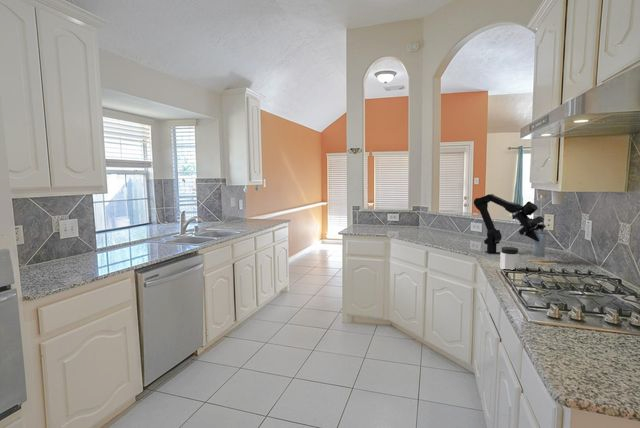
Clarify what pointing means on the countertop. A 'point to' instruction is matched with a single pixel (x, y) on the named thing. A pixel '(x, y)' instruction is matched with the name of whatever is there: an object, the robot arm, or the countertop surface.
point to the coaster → (541, 261)
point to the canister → (539, 243)
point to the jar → (509, 258)
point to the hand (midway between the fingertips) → (541, 240)
